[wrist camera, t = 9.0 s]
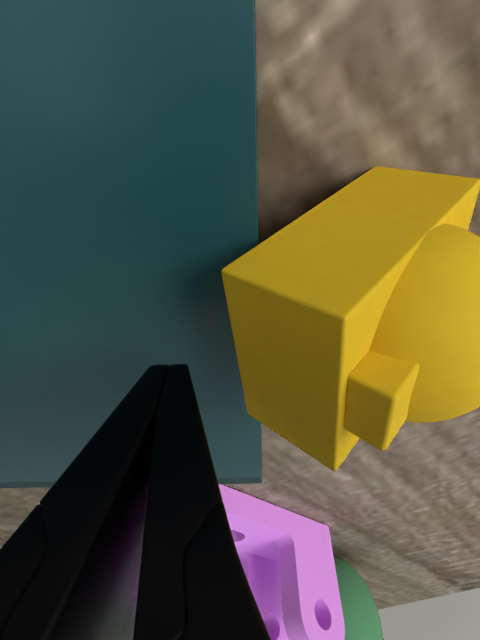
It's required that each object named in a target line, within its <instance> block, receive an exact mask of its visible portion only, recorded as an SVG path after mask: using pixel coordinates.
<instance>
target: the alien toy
mask: <svg viewBox="0 0 480 640" xmlns="http://www.w3.org/2000/svg"><path fill="white" fill-rule="evenodd" d="M333 557H334V556H333ZM334 563H335V569H336V575H337V581H338V587H339V593H340V599H341V605H342V611H343V617H344V625H345V638H344V640H384V639H383V633H382V627H381V622H380V618H379V614H378V610H377V607H376V604H375V601H374V599H373V597H372V594H371V592H370V590H369V589H368V587H367V585H366V583H365V582H364V580H363V579H362V577H361V576H360V575H359V574H358V573H357V571H356V570H354V569H353V568H352V567H351V566H350V565H349V564H347V563H346V562H345V561H343V560H341V559H339V558H337V557H334Z"/></svg>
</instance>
